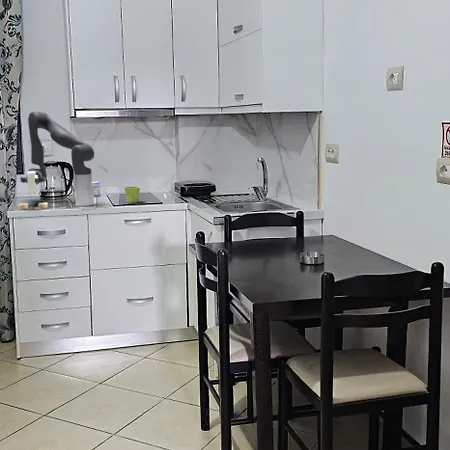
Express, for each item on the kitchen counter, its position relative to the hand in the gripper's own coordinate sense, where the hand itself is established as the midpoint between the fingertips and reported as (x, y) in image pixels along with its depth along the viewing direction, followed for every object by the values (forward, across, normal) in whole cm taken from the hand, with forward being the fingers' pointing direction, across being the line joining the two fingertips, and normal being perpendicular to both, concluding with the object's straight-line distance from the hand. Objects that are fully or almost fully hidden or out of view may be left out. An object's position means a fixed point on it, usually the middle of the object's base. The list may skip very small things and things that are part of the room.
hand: (31, 181), depth 355 cm
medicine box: (-45, +31, +16) cm, 57 cm away
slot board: (-3, 0, +15) cm, 15 cm away
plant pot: (-11, +54, +15) cm, 57 cm away
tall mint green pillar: (-3, 0, +6) cm, 7 cm away
